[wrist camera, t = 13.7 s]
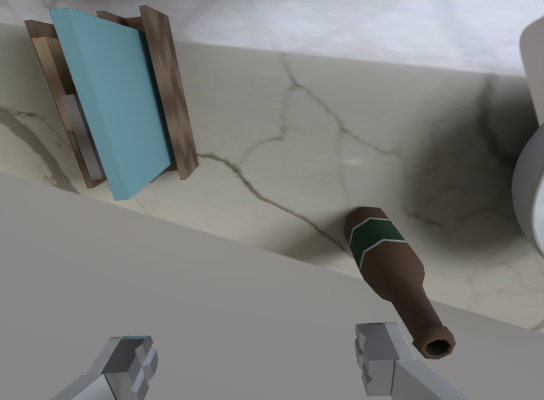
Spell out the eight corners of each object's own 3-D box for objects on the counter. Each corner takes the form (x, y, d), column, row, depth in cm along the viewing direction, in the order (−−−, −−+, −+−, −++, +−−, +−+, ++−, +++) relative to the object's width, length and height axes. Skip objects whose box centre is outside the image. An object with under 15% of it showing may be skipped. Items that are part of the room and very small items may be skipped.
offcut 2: (100, 91, 40) (60, 95, 32) (111, 90, 40) (73, 94, 32) (122, 162, 44) (91, 180, 36) (132, 161, 44) (103, 179, 36)
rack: (63, 29, 38) (24, 20, 32) (167, 16, 37) (146, 5, 31) (112, 173, 46) (87, 188, 40) (198, 165, 45) (186, 179, 39)
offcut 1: (70, 44, 37) (31, 38, 31) (81, 42, 37) (44, 36, 31) (97, 122, 41) (66, 131, 35) (107, 121, 41) (78, 129, 35)
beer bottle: (347, 249, 51) (401, 383, 29) (337, 211, 48) (389, 328, 26) (392, 238, 50) (483, 368, 28) (385, 198, 47) (480, 308, 25)
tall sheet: (139, 35, 37) (48, 10, 22) (151, 34, 37) (67, 7, 22) (169, 157, 43) (114, 200, 29) (179, 156, 43) (129, 199, 28)
